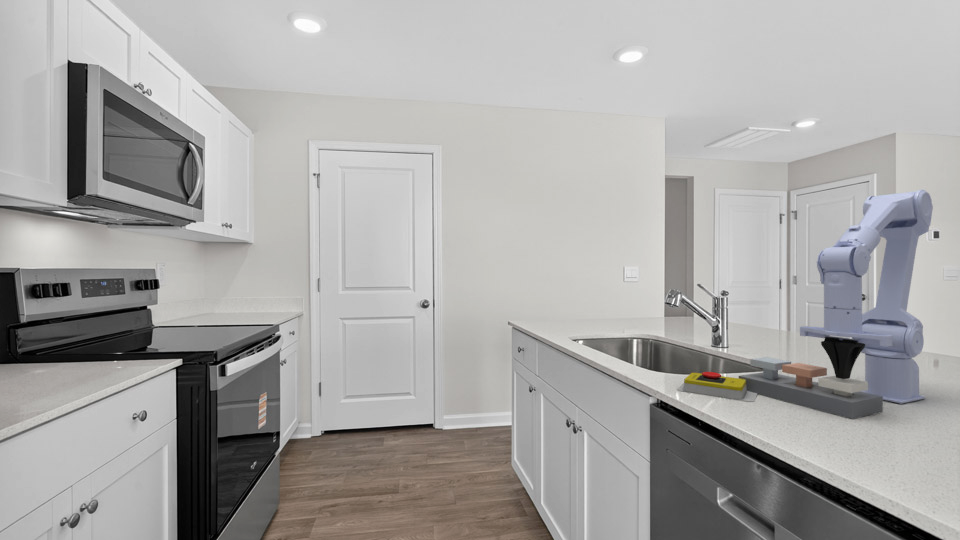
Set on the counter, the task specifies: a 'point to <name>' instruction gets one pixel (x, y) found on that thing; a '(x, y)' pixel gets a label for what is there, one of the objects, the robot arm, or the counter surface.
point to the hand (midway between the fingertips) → (842, 377)
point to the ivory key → (843, 385)
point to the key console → (815, 396)
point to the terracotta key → (804, 373)
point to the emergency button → (717, 386)
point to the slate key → (769, 366)
